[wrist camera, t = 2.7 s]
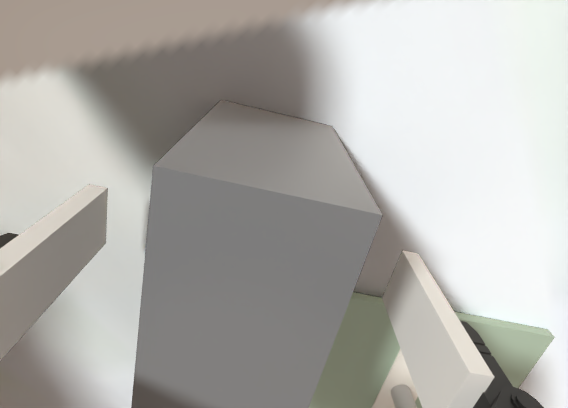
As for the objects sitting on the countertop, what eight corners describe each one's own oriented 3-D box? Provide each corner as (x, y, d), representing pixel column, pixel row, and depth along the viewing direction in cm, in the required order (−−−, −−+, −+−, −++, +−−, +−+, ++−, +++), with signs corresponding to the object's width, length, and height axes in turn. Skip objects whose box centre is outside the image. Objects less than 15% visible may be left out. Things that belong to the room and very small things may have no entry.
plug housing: (189, 298, 20) (125, 477, 12) (221, 99, 16) (153, 165, 7) (277, 315, 21) (274, 497, 12) (332, 126, 16) (382, 214, 8)
